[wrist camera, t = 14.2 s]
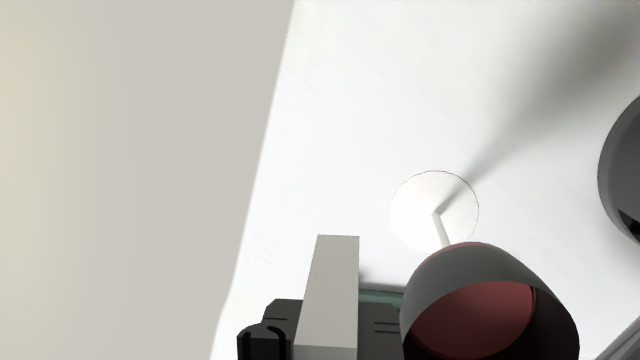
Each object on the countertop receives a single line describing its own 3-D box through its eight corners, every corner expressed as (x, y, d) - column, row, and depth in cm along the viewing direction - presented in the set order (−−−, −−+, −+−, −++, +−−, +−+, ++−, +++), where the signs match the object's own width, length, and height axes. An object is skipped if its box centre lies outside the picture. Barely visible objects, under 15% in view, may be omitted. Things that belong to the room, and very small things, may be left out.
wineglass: (504, 211, 42) (617, 360, 23) (427, 274, 45) (472, 456, 26) (440, 146, 41) (504, 245, 22) (365, 214, 44) (363, 357, 24)
